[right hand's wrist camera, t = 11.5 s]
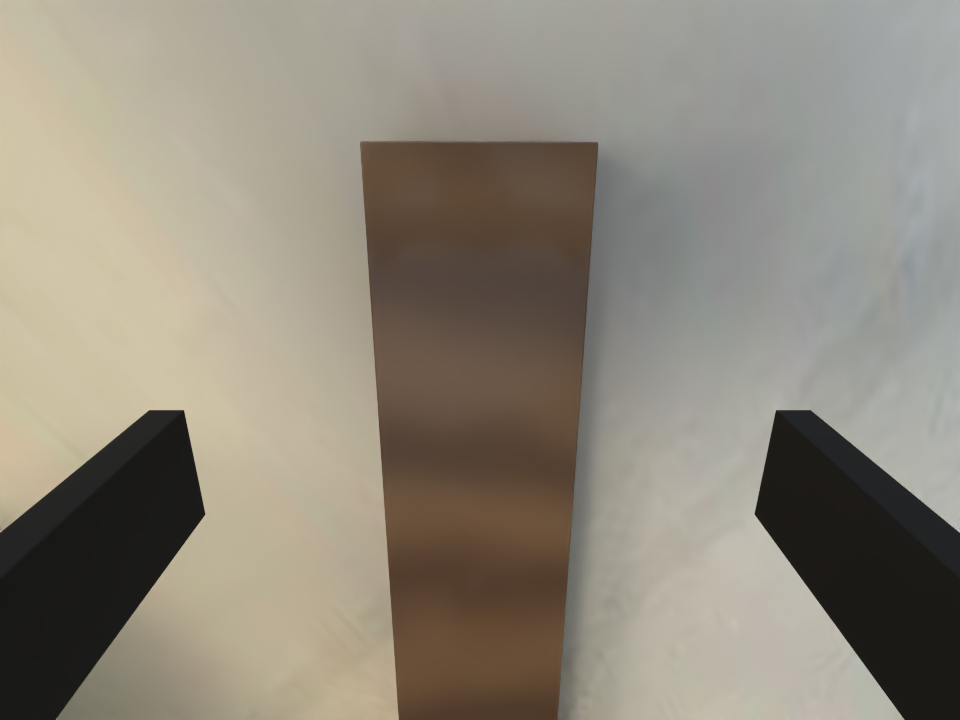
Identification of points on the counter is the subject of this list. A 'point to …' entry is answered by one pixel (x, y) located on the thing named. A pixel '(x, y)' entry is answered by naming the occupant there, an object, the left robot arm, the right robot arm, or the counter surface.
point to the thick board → (478, 411)
